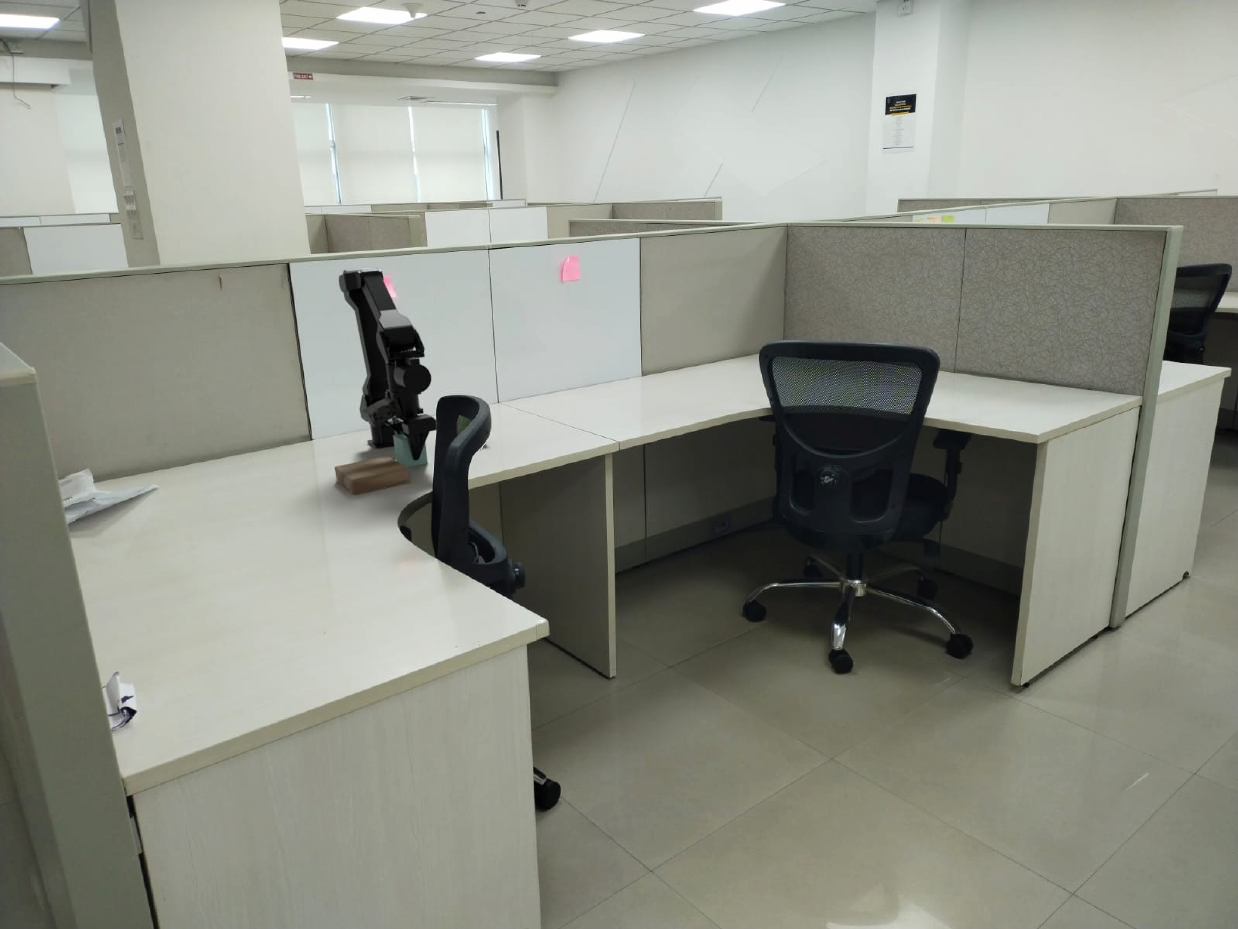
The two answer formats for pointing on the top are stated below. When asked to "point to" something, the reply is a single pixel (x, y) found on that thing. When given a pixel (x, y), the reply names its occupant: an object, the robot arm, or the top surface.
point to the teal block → (407, 452)
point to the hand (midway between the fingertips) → (411, 457)
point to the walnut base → (371, 475)
